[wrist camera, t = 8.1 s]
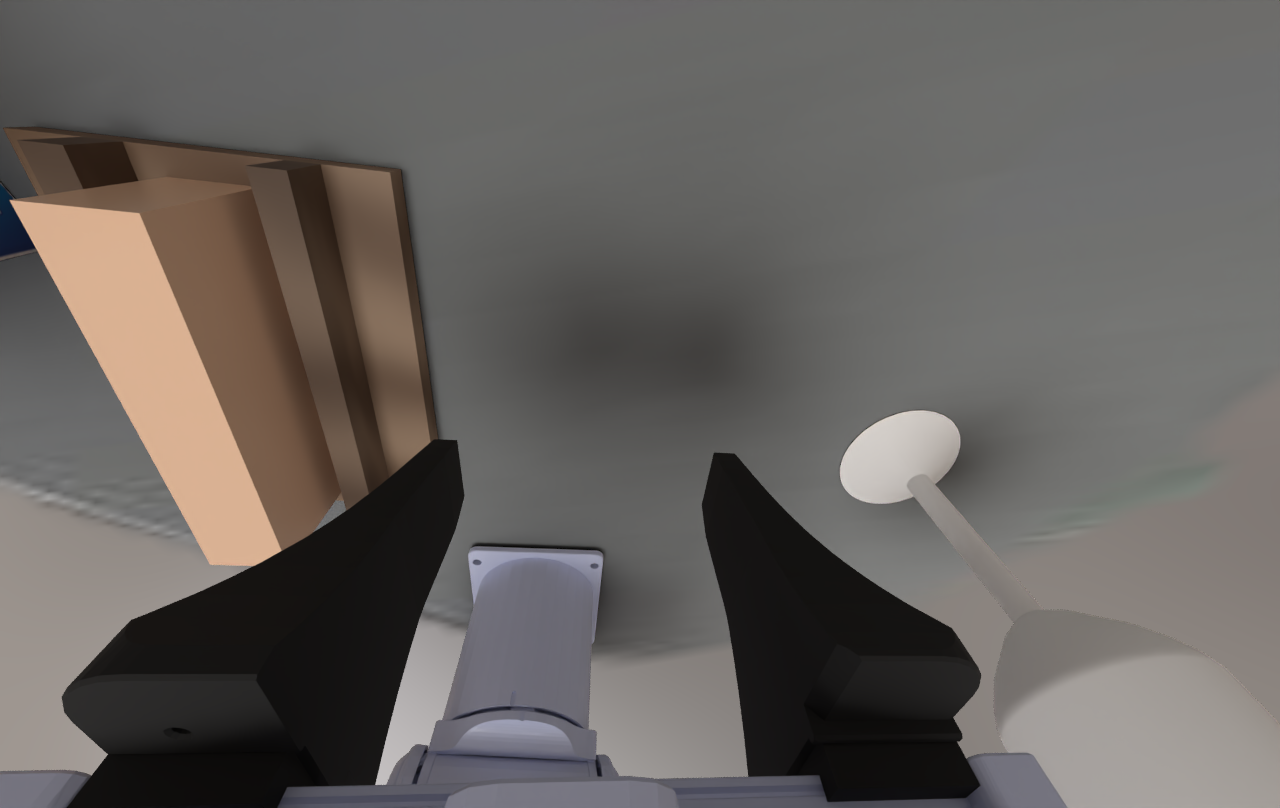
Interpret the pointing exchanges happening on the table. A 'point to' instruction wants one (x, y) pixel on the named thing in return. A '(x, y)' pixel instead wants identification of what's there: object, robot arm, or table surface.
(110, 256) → the tan rectangular bar
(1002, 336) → the table surface
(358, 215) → the ribbed wooden board
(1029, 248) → the table surface
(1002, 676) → the champagne flute
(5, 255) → the juice carton
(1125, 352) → the table surface
